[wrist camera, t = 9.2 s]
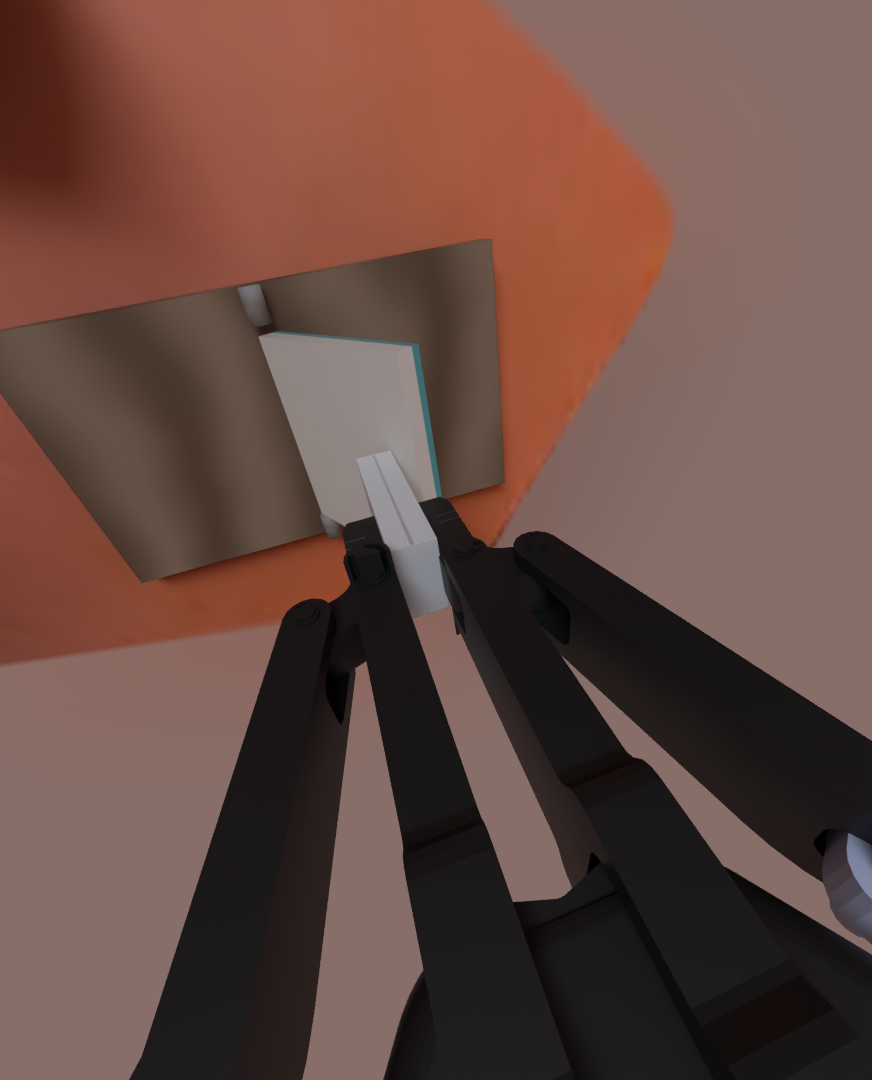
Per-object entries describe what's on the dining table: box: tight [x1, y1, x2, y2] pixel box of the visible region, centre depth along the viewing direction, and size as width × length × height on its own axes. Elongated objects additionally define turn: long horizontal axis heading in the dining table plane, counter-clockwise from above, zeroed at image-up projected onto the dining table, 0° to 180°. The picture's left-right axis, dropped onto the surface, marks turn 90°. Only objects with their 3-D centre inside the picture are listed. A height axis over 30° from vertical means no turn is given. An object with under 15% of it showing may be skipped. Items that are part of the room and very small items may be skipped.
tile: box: [259, 331, 442, 526], centre depth 20 cm, size 10×10×1 cm
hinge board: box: [0, 239, 505, 583], centre depth 24 cm, size 24×14×2 cm, turn 99°
